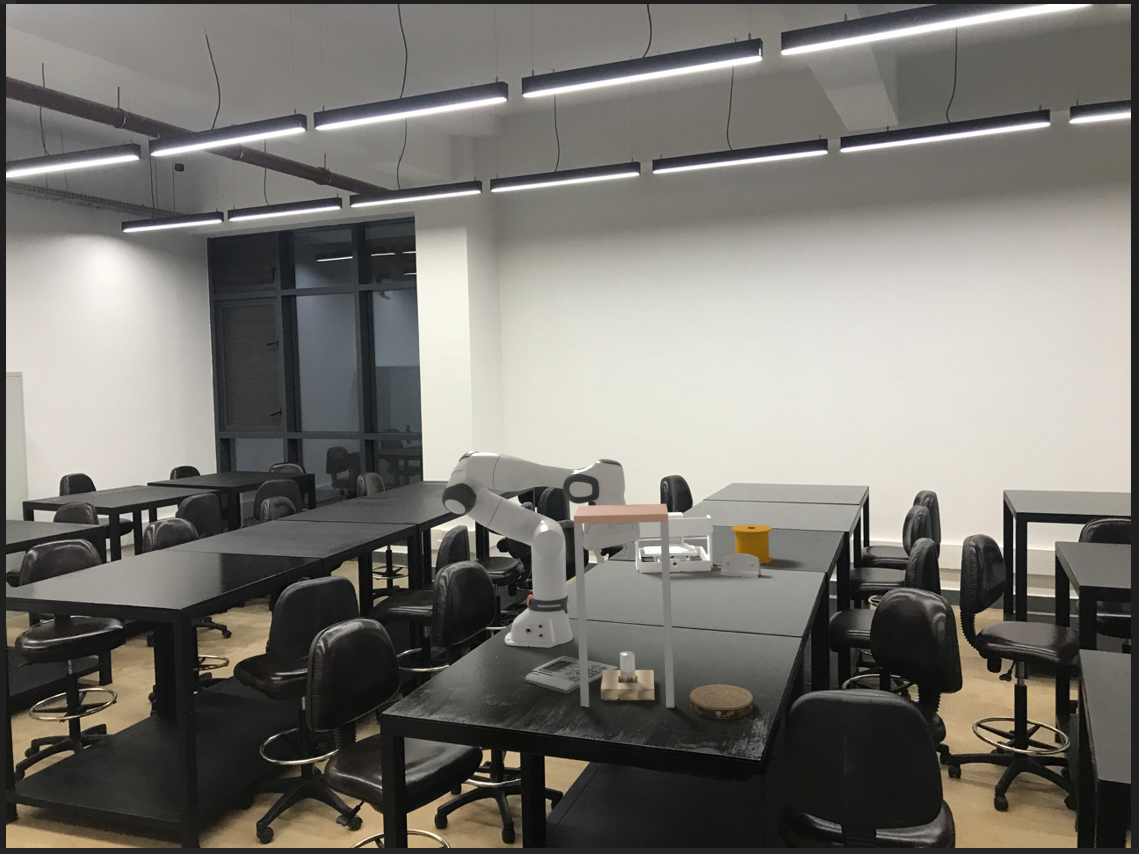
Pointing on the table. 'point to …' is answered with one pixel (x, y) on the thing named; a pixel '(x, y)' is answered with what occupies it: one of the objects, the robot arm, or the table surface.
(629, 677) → the peg
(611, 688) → the socket block
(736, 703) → the wood slice
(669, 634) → the pink-topped arch frame
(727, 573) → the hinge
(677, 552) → the 3d printer
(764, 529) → the spool
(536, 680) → the office telephone
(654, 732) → the table surface
